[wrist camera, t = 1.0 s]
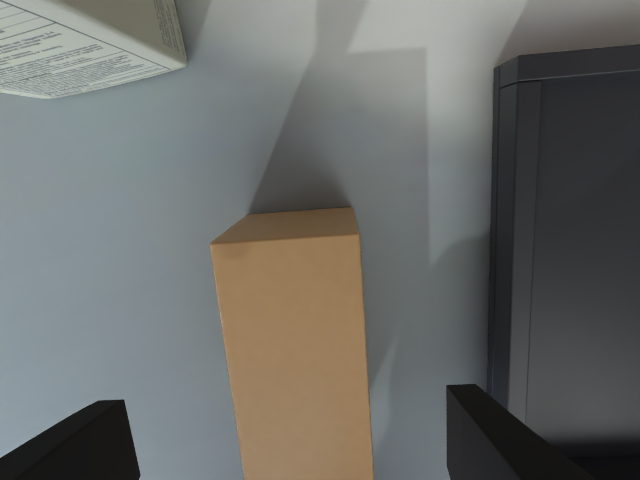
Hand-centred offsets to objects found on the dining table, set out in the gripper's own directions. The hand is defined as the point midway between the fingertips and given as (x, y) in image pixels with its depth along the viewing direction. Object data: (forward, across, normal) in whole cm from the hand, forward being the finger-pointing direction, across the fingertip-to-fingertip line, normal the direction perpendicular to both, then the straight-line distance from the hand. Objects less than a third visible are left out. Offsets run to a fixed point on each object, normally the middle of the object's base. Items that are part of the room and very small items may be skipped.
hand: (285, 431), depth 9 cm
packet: (+8, 0, +1) cm, 9 cm away
